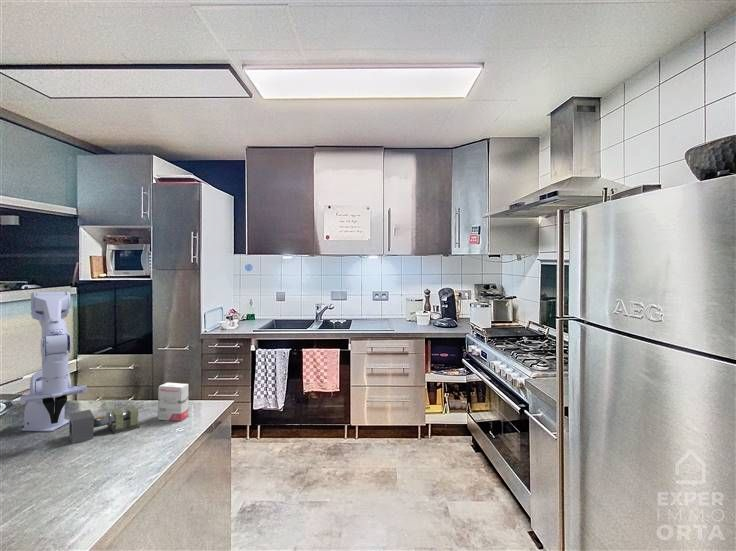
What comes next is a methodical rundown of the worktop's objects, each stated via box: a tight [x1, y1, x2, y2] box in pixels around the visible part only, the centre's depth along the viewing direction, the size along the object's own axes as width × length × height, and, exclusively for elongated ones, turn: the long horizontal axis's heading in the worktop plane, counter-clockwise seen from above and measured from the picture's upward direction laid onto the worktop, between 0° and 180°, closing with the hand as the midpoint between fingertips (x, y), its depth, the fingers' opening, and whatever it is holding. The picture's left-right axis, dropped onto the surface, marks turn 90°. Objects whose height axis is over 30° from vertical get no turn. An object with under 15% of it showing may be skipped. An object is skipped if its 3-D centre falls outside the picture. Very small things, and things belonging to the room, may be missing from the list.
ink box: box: [157, 382, 189, 422], centre depth 125 cm, size 9×5×12 cm, turn 84°
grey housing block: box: [68, 409, 95, 444], centre depth 109 cm, size 5×7×7 cm
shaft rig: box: [94, 404, 141, 435], centre depth 115 cm, size 13×8×6 cm, turn 136°
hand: (54, 422), depth 105 cm, fingers closed
